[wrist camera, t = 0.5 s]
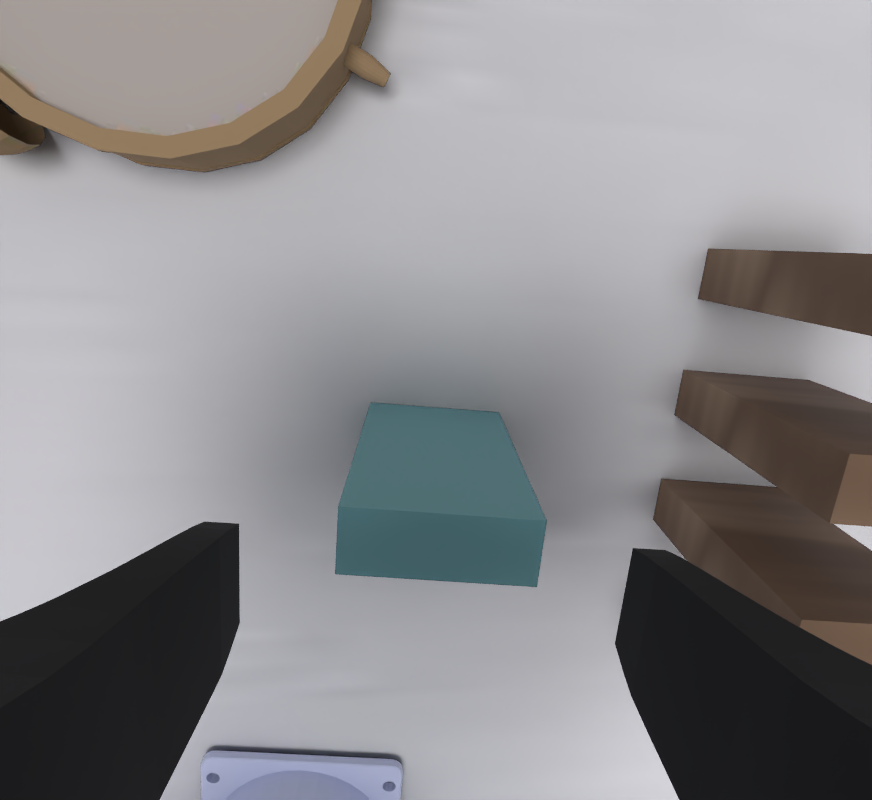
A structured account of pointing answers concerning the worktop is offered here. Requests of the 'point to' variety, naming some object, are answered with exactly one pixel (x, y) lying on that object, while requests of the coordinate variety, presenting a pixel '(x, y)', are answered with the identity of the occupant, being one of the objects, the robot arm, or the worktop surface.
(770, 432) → the domino
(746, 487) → the domino
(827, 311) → the domino
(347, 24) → the alarm clock
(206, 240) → the worktop surface
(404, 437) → the teal domino
